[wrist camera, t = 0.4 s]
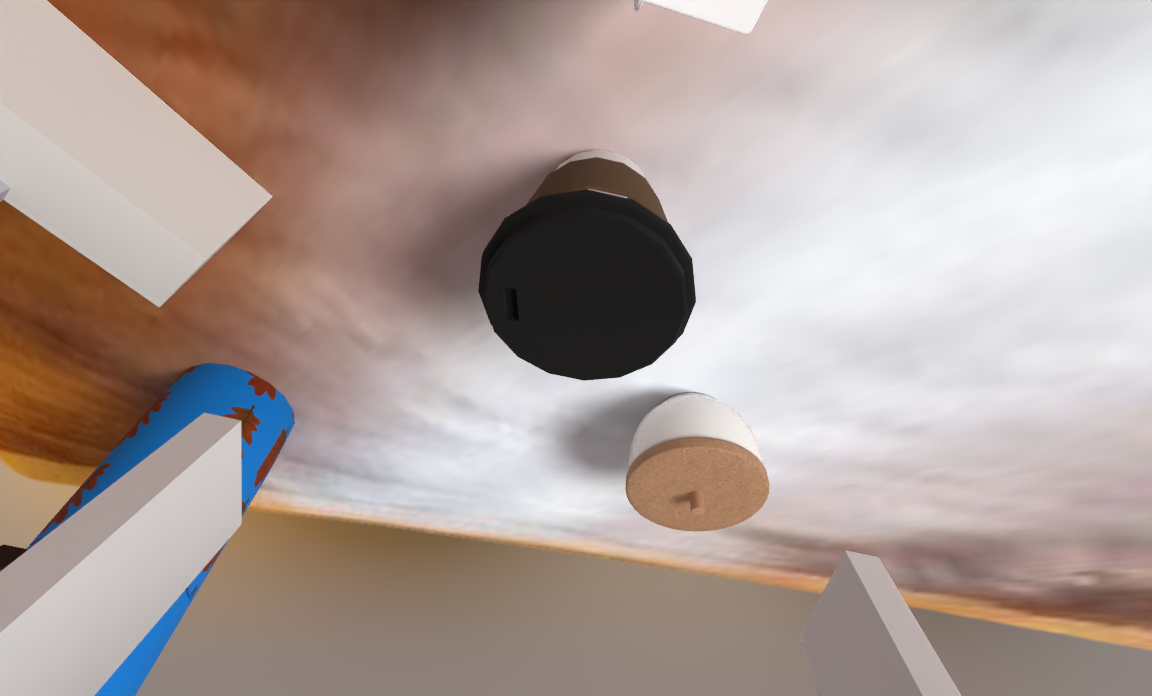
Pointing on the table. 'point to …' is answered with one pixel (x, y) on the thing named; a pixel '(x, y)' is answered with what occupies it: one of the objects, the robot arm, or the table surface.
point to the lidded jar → (695, 465)
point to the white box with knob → (109, 158)
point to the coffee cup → (588, 272)
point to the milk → (715, 11)
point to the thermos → (171, 413)
